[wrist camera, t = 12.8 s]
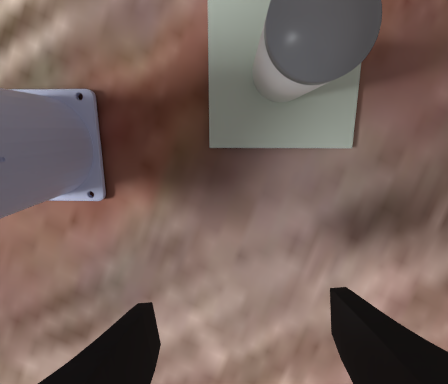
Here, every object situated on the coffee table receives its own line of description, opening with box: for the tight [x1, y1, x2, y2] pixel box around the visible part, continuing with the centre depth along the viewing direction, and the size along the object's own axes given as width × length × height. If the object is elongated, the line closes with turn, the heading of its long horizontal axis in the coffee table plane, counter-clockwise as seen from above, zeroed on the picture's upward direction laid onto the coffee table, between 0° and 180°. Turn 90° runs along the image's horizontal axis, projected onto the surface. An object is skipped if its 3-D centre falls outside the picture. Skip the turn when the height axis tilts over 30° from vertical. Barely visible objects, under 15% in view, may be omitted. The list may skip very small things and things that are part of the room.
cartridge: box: [252, 0, 382, 103], centre depth 14 cm, size 4×4×8 cm
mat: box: [208, 0, 361, 148], centre depth 18 cm, size 10×10×1 cm
